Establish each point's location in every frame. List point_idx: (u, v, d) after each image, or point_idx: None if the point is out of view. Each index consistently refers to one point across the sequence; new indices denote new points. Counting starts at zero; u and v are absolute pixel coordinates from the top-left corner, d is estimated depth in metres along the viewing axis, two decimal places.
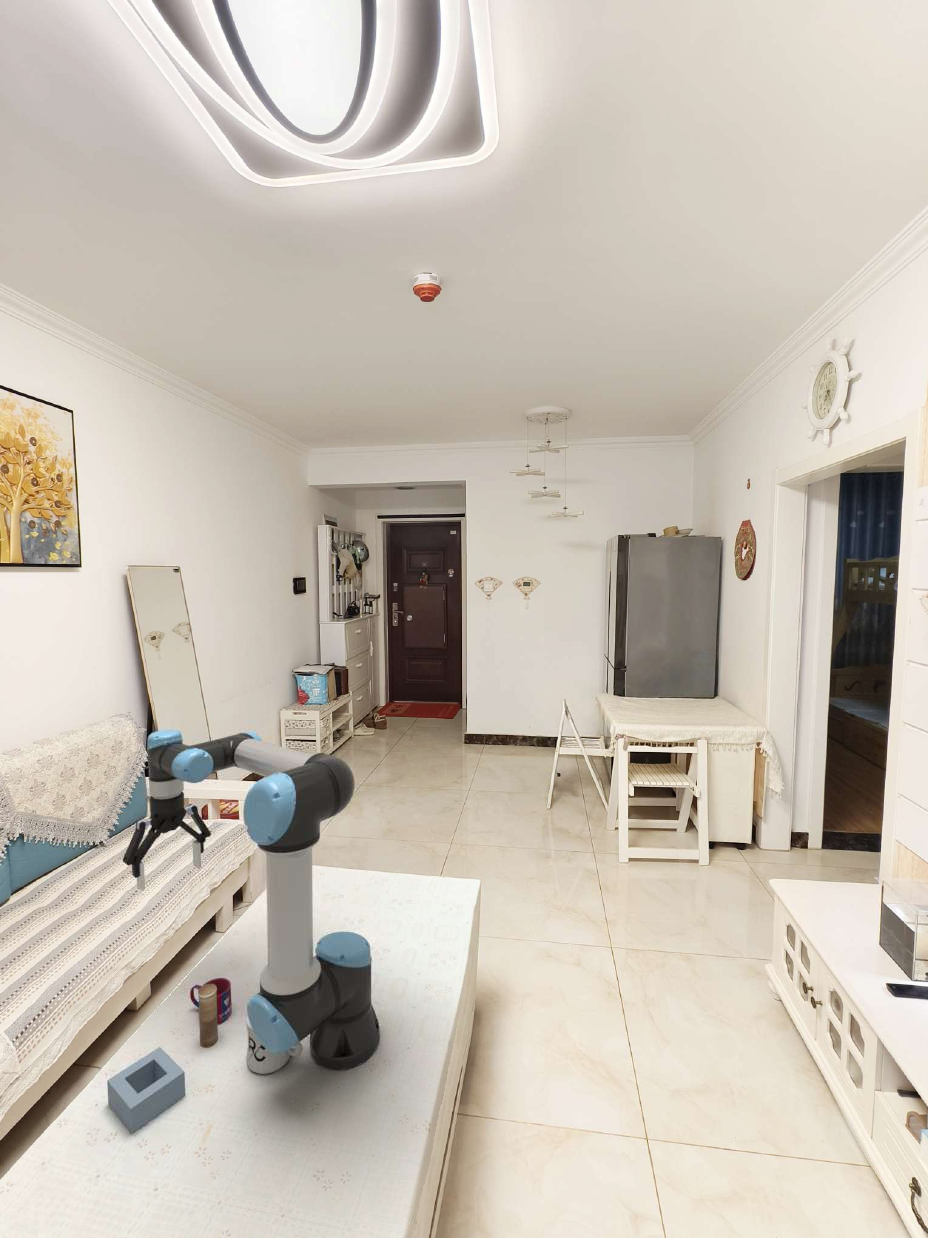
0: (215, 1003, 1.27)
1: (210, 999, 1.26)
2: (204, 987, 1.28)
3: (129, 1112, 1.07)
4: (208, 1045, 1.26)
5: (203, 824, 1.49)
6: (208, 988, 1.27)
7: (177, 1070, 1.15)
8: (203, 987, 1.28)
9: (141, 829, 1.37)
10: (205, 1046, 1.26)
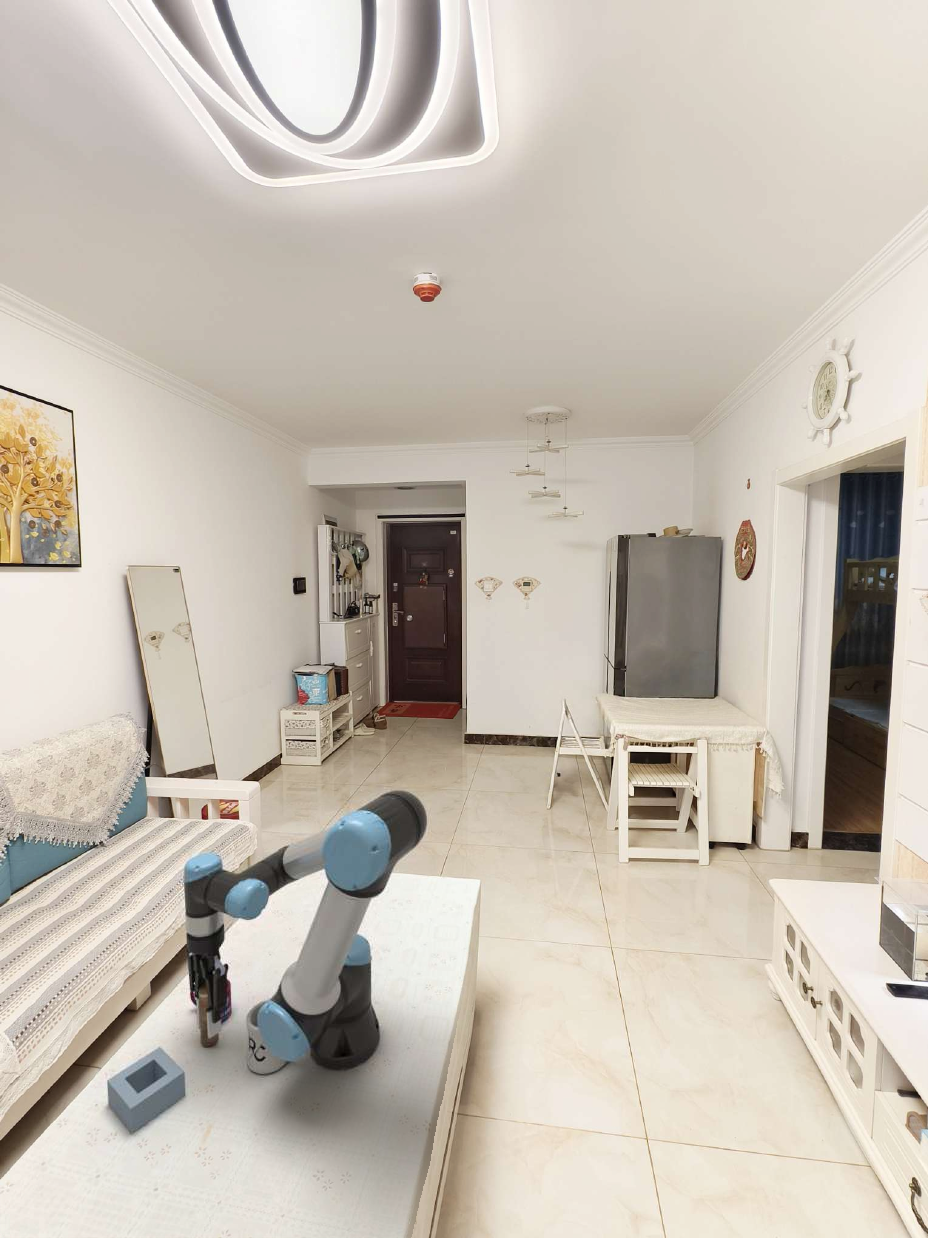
0: None
1: None
2: (205, 986, 1.28)
3: (129, 1112, 1.07)
4: (209, 1044, 1.26)
5: (215, 994, 1.23)
6: None
7: (177, 1070, 1.15)
8: (204, 986, 1.28)
9: (187, 955, 1.29)
10: (206, 1045, 1.26)
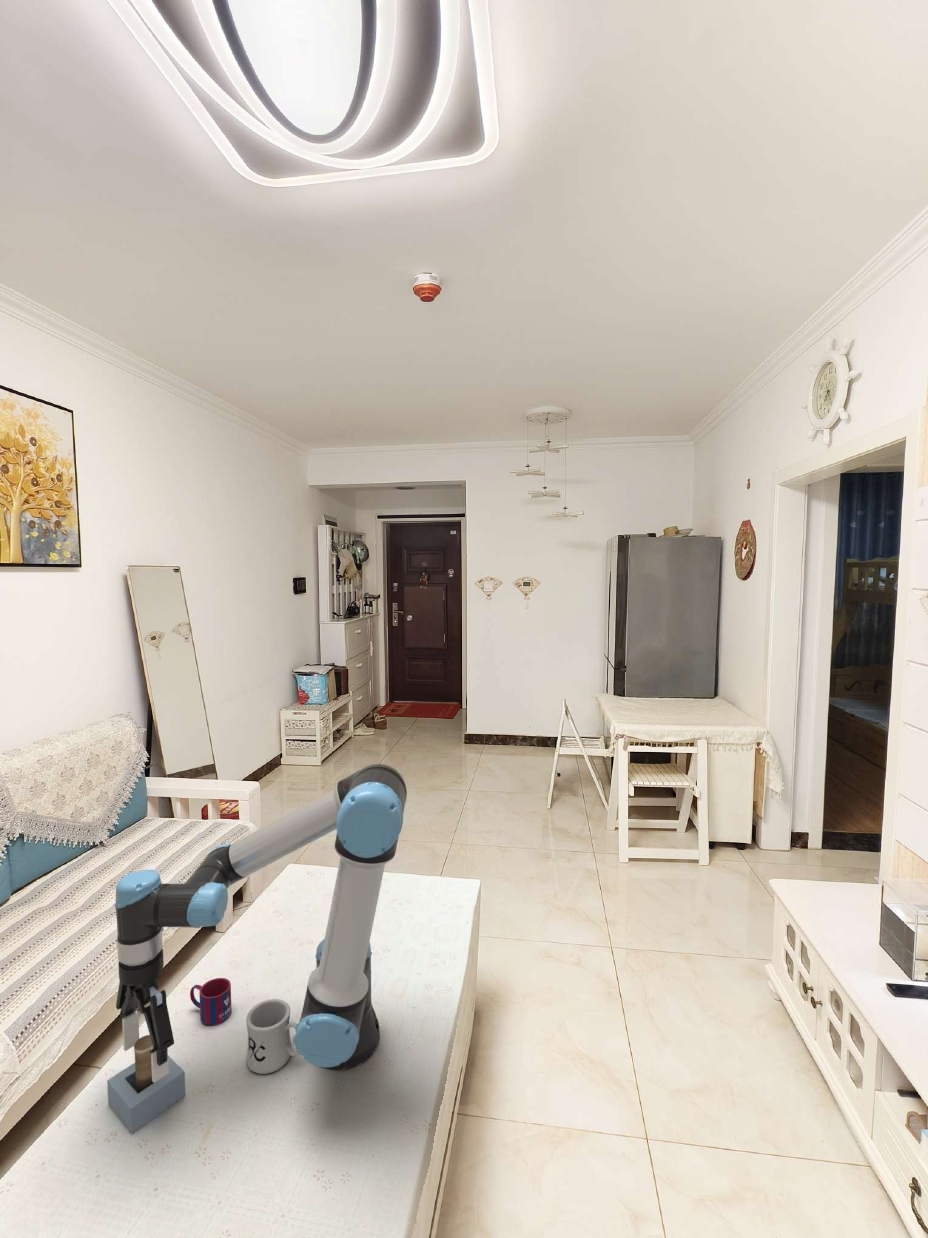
0: None
1: (148, 1053, 1.12)
2: (142, 1039, 1.13)
3: (129, 1112, 1.07)
4: None
5: (156, 1030, 1.07)
6: (146, 1041, 1.13)
7: (177, 1070, 1.15)
8: (140, 1039, 1.13)
9: None
10: None
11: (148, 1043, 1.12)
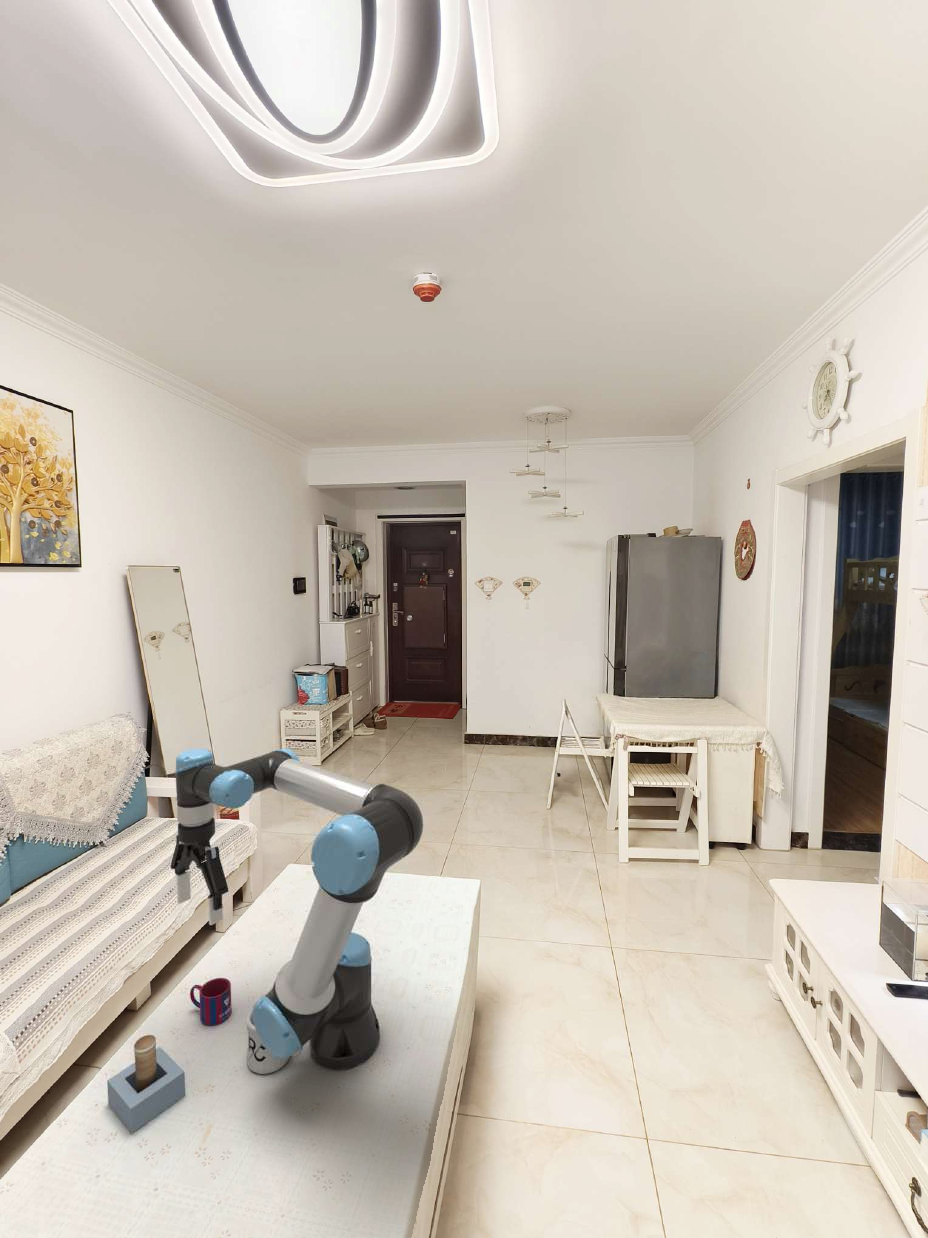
0: (154, 1058, 1.13)
1: (148, 1053, 1.12)
2: (142, 1039, 1.13)
3: (129, 1112, 1.07)
4: None
5: (212, 878, 1.24)
6: (146, 1041, 1.13)
7: (177, 1070, 1.15)
8: (140, 1039, 1.13)
9: (177, 841, 1.33)
10: None
11: (148, 1043, 1.12)
